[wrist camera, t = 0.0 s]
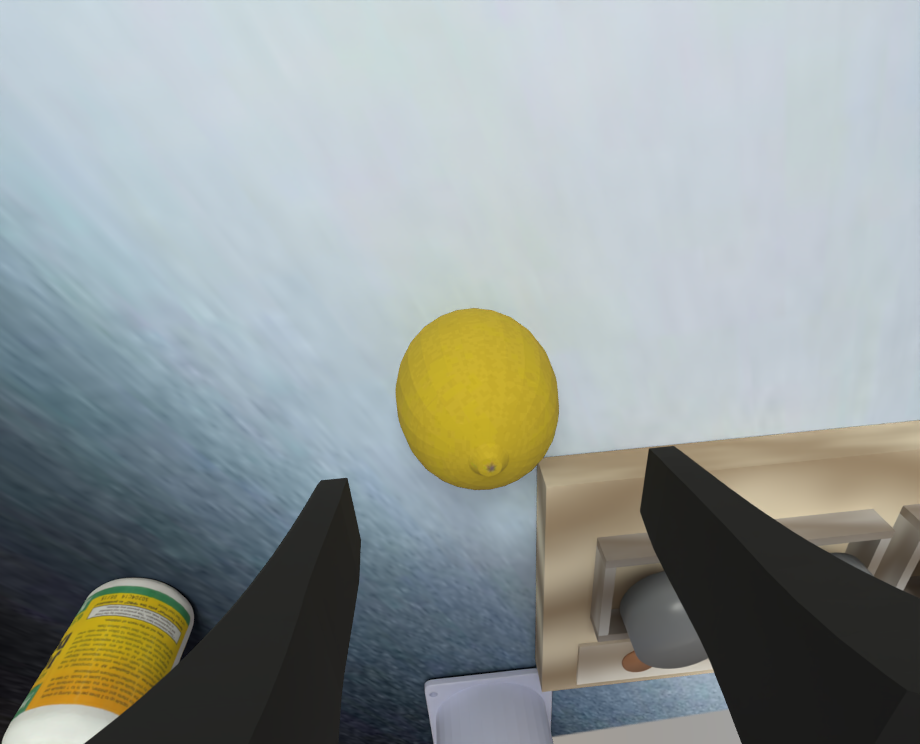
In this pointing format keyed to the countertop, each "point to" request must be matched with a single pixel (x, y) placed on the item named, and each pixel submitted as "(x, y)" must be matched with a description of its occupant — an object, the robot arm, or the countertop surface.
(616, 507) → the button board
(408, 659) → the countertop surface
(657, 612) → the button
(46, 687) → the supplement bottle
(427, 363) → the lemon
